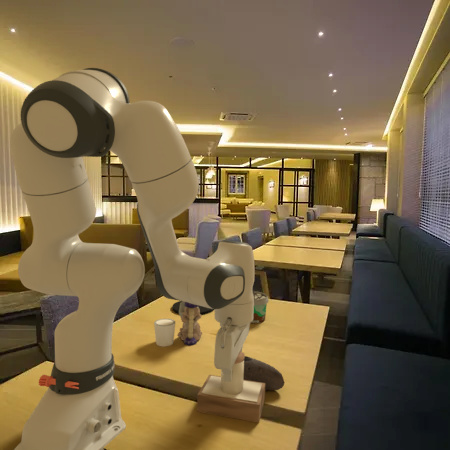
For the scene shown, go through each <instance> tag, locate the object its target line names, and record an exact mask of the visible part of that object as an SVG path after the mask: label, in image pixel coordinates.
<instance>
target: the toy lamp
mask: <svg viewBox="0 0 450 450" xmlns="http://www.w3.org/2000/svg"><path fill="white" fill-rule="evenodd" d="M184 305H185V307H188V308H189V321H188V323H189V325H188V328H189V329H188V337H187V338H186V339H185V340H183V344H184V345H186V346H191V347H192V346H195V345H197V343H198V342H197V341H198V340H197V341H196V339H195V338H194V337H193V323H194V320H193V319H194V308H196V307H198V306H199V305H194V304H191V303H188V302H185V304H184Z"/></svg>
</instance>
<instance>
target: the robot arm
mask: <svg viewBox="0 0 450 450" xmlns="http://www.w3.org/2000/svg"><path fill="white" fill-rule="evenodd" d="M130 101H131V100H130V96H129V92H128V89H127V87H126V86H125V84H124V82H123V81H122V80H121V79H120V78H119V77H118V76H117V75H115V74H114V73H112V72H110V71H109V70H105V69H102V68H98V67H87V68H84V69H78V70H77V69H76V70H72V71H68V72H65V73H62V74H60V75H59V76H58V77H56V78H54V79H51V80H48V81H44V82H42V83H40V84H39V85H37V86H35V88H33V89H32V90H31V91H30V92H29V93H28V94H27V95H26V97H25V99H24V101H23V102H22V105H21V109H20V123H19V124H18V125H17V126H15V127H14V128H13V130H12V131H11V134H10V136H9V137H10V138H9V139H10V150H11V156H12V157H11V158H12V162H13V167H14V171H15V174H16V177H17V182H18V185H19V188H20V190H21V193H22V195H23V199H24V201H25V204H26V206H27V210H28V214H29V217H30V219H31V223H32V228H33V239H32V243H31V245H30V246H29V247H27V248H26V250H24V252H23V253H22V255H21V257H20V258H19V261H18V265H17V266H18V267H17V272H18V277H19V280H20V282H21V284H22V286H24V287H25V288H27V289H29V290H32V291H34V292H38V293H41V294H45V295H51V296H67V297H77V298H78V307H77V310H74V311H73V312H71V313H69V314H67V315H66V316H64V317H63V318H61V320H60V321H59V323H57V325H56V327H55V330H54V334H53V336H54V363H53V365H52V369H51V374H50V375H47V374H42V375H41V376H40V377H39V379H38V382H37V383H38V386H40V387H46V388H47V390H46V391H45V393H44V394H43V396H42V397H41V399H40V401H38V403H37V405H36V406H35V408H34V410H33V411H32V413H31V414H30V416H29V417H28V418H27V420H26V422H25V423H24V425H23V428H22V434H21V440H20V442H19V443H18V445H17V446H16V447H15V448H14V449H13V450H105V449H106V448H105V447H106V446H107V445H108V444H110V443H111V442H112V441H113V440H114V439H115V438H116V437H117V436H119V435H120V434H121V433H122V432H123V431H125V429H126V427H127V424H126V422H125V421H124V419H123V418H122V412H121V411H122V410H121V401H120V394H119V390H118V386H117V384H116V382H115V379H114V374H115V365H116V364H115V359H114V357H115V356H114V353H112V352H113V351H112V350H113V346H112V345H113V344H112V343H113V342H112V341H113V340H112V339H113V327H114V322H115V321H114V320H115V319H116V314H118V313H117V312H118V310H119V308H120V307H121V306H122V305H123V303H125V302H126V300H127V299H129V298H130V297H131V296H132V295H134V294H135V293H136V292H137V291H138V290H139V289H140V287H141V285H142V284H143V282H144V279H145V273H146V269H145V262H144V260H143V258H142V255H141V254H140V253H139V251H138V250H137V249H135V248H132V247H128V246H124V245H119V244H116V243H98V242H97V243H95V242H94V243H93V242H85V241H84V242H83V240H81V239H80V237H79V235H80V234H82V233H83V232H84V231H86V230H87V229H89V228H90V227H91V225H92V224H93V222H94V220H95V219H96V214H97V207H96V203H95V200H94V195H93V191H92V188H91V184H90V180H89V176H88V173H87V170H86V165H85V161H84V157H88V158H92V157H93V158H94V157H95V158H101V157H104V156H106V155H107V154H108V153H109V152H111V153H113V154H115V156H116V157H118V159H119V161H120V162H121V164H122V165H123V168H124V170H125V172H126V174H127V176H128V179H129V181H130V183H131V185H132V188H133V190H134V194H135V196H136V198H137V203H136V214H137V217H138V221H139V224H140V228H141V230H142V231H141V232H142V234H143V236H144V239H145V242H146V244H147V248H148V250H149V253H150V256H151V258H152V262H153V266H154V272H155V273H154V274H155V282H156V286H157V288H158V291H159V293H160V294H161V295H162V296H163V297H164V298H166V299H168V300H173V301H184V302H188V303H191V304H194V305H199V306H203V307H206V308H210V309H214V320H215V321H216V322H217V323H219V326H220V327H219V329H218V330H217V332H216V336H215V340H214V341H215V342H214V358H213V359H214V360H213V364H214V367H215V368H216V369H217V370H222V372H223V380H224V381H225V382H231V380H232V378H233V371H232V367H233V365H234V363H235V361H236V359H237V357H238V354H239V352H240V351H242V352H243V348H244V344H245V342H246V340H247V337H248V336H249V333H250V326H251V322H252V321H253V313H254V290H253V286H254V284H255V283H254V282H255V273H256V272H255V256H254V250H253V246H251V245H250V244H249V243H247V242H242V241H236V240H235V241H234V240H220V241H219V242H218V246H217V249H216V250H215V252H214V253H212V255H210V256H209V257H207V258H206V259H205V258H201V257H194V256H190V255H189V254H187V253H185V252H184V251H182V250H181V248H180V246H179V242H178V239H177V237H176V233H175V229H174V226H173V221H172V220H173V219H174V218H176V217H178V216H180V215H181V214H182V213H184V212H185V211H186V210H188V208H189V207H191V205H193V203H194V201H195V200H196V198H197V196H198V192H199V188H200V185H199V184H200V183H199V176H198V173H197V169H196V166H195V164H194V162H193V161H194V160H193V159H192V157H191V154H190V153H191V152H190V150H189V149H188V147H187V144H186V142H185V139H184V137H183V135H182V133H181V131H180V129H179V127H178V126H177V123H176V122H175V121H174V118H173V117H172V115H171V114H170V112H169V111H168V109H167V108H166V107H165V106H164V105H163V104H161V103H160V102H157V101H155V100H154V101H153V100H139V101H134V102H132V103H130Z"/></svg>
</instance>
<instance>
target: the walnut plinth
mask: <svg viewBox="0 0 450 450" xmlns="http://www.w3.org/2000/svg"><path fill="white" fill-rule="evenodd" d="M196 396H197V398H196V399H197V404H196V405H197V407H196V409H197V410H196V412H199V413H205V414H209V415H214V416H220V417H226V418H231V419H237V420H241V421H247V422H254V423H260V421H261V415H262V412H263V409H264V404H265V399H266V390H265V383H261V382H254V381H247V380H244V383H243V391H242V392H241V393H238V394H227V393H225V392H223V391H222V390H221V375H213V374H209V375H208V376H207V378H206V380H205V381H204V383H203V385H202V386H201V388H200V389H199V391H198V393H197V395H196Z"/></svg>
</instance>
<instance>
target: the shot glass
mask: <svg viewBox="0 0 450 450" xmlns="http://www.w3.org/2000/svg"><path fill="white" fill-rule="evenodd" d="M153 327H154V335H155V345H157V346H158V347H169V346H172V345H174V340H175V330H176V321H175V320H174V319H172V318H160V319H157V320H155V321H154V322H153Z"/></svg>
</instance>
